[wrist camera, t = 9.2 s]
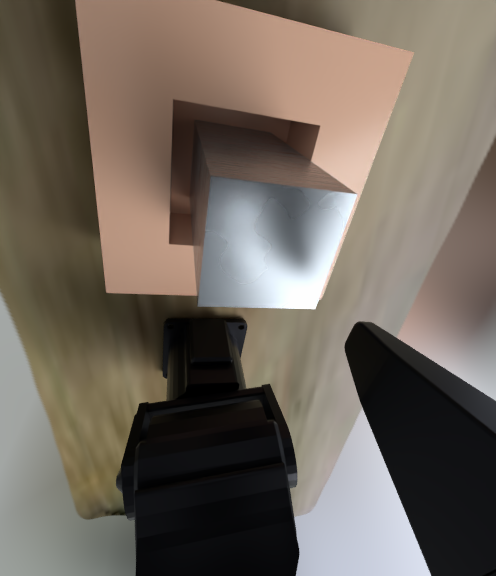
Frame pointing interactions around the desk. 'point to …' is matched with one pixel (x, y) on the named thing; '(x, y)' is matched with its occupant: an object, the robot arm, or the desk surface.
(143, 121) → the well
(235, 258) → the grey rectangular block
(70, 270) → the desk surface
